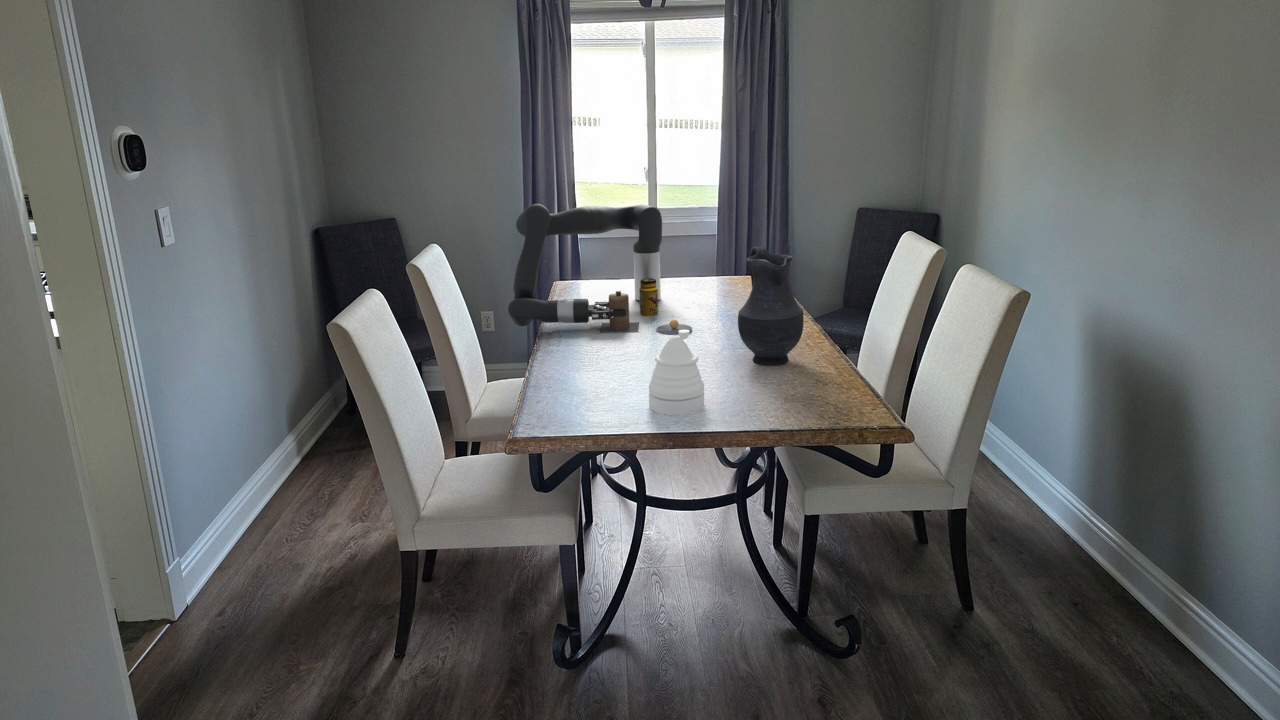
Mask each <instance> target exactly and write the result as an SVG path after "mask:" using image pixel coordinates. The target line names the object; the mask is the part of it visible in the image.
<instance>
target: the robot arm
mask: <svg viewBox="0 0 1280 720" xmlns="http://www.w3.org/2000/svg"><path fill="white" fill-rule="evenodd" d="M662 218H663V217H662V213H661V211H660V210H659V208H657V207H655V206H653V205H648V204H635V205H629V206H623V207H610V206H580V207H579V206H578V207H574V208H571V209H567V210H564V211H560V212H557V213H556V212H555V213H550V211H549V209H548V208H547V207H546V206H544V205H543V204H540V203H534V204H531V205H529V206H527V208H526V209H524V210H523V211H522V212H521V213H520V214H519V216H518V217H517V220H516V222H515V228H516V230H517V232H518V233H519V234H520V235H522V237H525V238H524V242H523V245H522V246H523V247H522V249H521V253H520V256H519V258H518V260H517V261H518V262H517V265H516V270H515V274H514V279H513V292H514V293H513V295H514V297H513V298H514V299H513V300H512V301H510V302H509V303H508V307H507V312H508V316H509V317H510V318H511V321H512V322H513V323H514V324H515V325H517V326H519V327H526V326H528V325H529V324H530V323H531V322H532V321H533V320H539V321H541V322H542V323H546V324H552V323H554V324H555V323H560V324H588V323H589V321H590V318H591V320H592V321H597V320H599V321H601V320H609V319H611V318H613V317H624V316H626V309H609V301H595V302H594V304H589V303H590V302H589V299H588V298H566V299H565V298H564V299H559V300H558V299H554V300H553V299H551V300H542V299H538V298H537V299H536V298H535V295H536V288H537V282H538V276H539V268H540V261H541V257H542V253H543V252H542V251H543V248H544V243H545V240H546V237H550V236H559V235H560V236H561V235H567V236H569V235H597V234H598V235H599V234H603V233H604V234H605V233H608V232H610V231H613V230H632V231H638V239H637V241H636V242H634V244H633V248H632V249H633V275H634V276H633V277H634V299H637V300H640V294H639V289H640V287H641V286H640V284H641V283H640V281H641V279H645V278H652V279H655V280H656V287H657V289H658V301H660V300H661V299H660V298H662V297H661V293H662V292H661V289H662V288H661V256H660V255H661V253H660V252H661V251H660V250H661V249H660V248H661V244H662V239H663V219H662ZM637 300H636V301H637Z"/></svg>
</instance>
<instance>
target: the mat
mask: <svg viewBox="0 0 1280 720" xmlns="http://www.w3.org/2000/svg"><path fill="white" fill-rule="evenodd" d="M629 325H630V327H629V329H625V330H613V329H610V322H601V326H600V329H599V332H598V334H615V333H616V334H619V333H622V334H623V333H624V334H625V333H627V334H629V333H639V331H640V330H639V329H640V321H639V322H638V321H636V322H631V321H629Z"/></svg>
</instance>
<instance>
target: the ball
mask: <svg viewBox="0 0 1280 720" xmlns="http://www.w3.org/2000/svg"><path fill="white" fill-rule="evenodd" d="M668 324H669V325H670V327H671V328H673V329H675V328H677V327H678V325H679V324H680V323H679V321H678V320H677V319H671V320H670V321H669V323H668Z"/></svg>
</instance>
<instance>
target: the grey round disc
mask: <svg viewBox="0 0 1280 720" xmlns="http://www.w3.org/2000/svg"><path fill="white" fill-rule="evenodd" d="M669 324H670V323H668V324H662V325H659V326H656V328H655V329H656V332H657V333H659V334H662V335H669V336H670V335H671V336H673V335H679V333H678V331H679V330H689V331H690V333H689V334H691V333H692V332H693V327H692V326H691V325H688V324H683V323H679V325H678V327H677V328H675V329H673V328H671V327H670V325H669Z"/></svg>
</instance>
